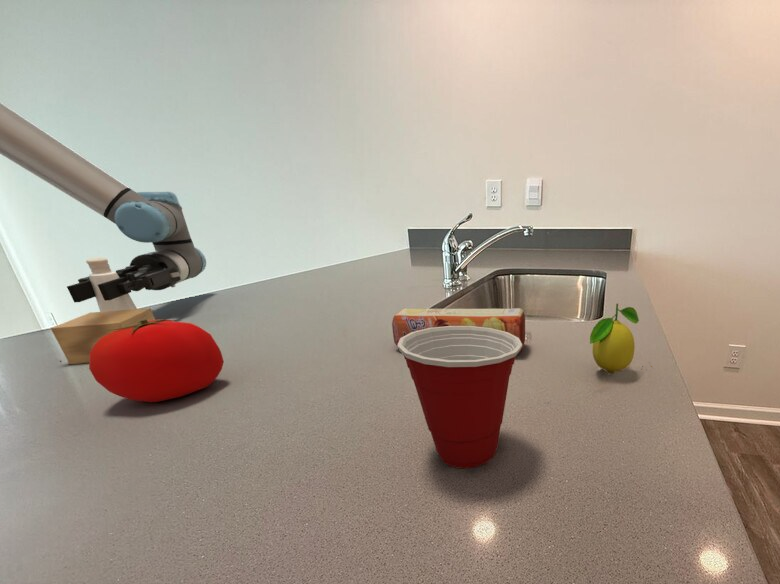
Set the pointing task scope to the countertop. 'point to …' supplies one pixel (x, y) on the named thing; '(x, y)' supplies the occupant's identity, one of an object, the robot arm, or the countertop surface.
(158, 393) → the tomato
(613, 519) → the countertop surface
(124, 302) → the salt shaker
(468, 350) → the plastic cup
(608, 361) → the lemon
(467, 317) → the snack package
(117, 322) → the wood block
